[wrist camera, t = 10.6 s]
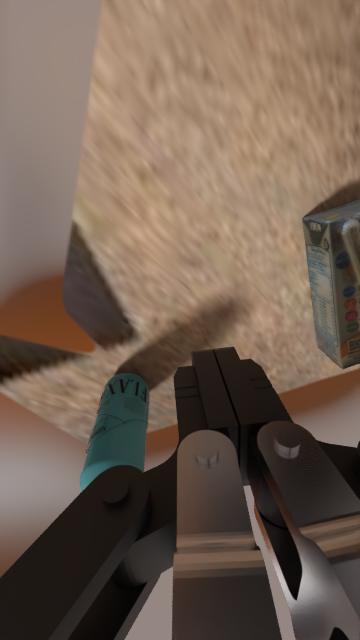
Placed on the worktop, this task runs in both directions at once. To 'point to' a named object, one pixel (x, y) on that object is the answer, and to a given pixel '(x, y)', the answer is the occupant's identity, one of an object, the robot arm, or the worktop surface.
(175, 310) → the worktop surface
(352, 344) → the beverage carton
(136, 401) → the beverage bottle
